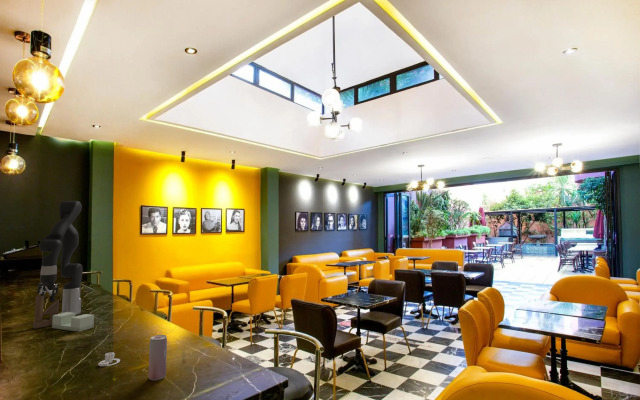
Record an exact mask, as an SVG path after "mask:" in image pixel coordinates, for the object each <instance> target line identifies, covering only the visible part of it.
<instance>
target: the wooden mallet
mask: <svg viewBox="0 0 640 400" xmlns="http://www.w3.org/2000/svg"><path fill="white" fill-rule="evenodd" d="M44 303H45V299H44V296H43V295H36V296H35V307H34V321H33V322H32V327H33V329H40V328H47V327H52V320H53V315H57V314H59V310H60V309H59V308H60V300H59V299H56V300H54V302H52V304H51V305H50V306H48V308H47V309H46V310H45V311H44ZM44 315H45V316H46V315H49V318H48V319H43V318H44Z"/></svg>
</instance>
